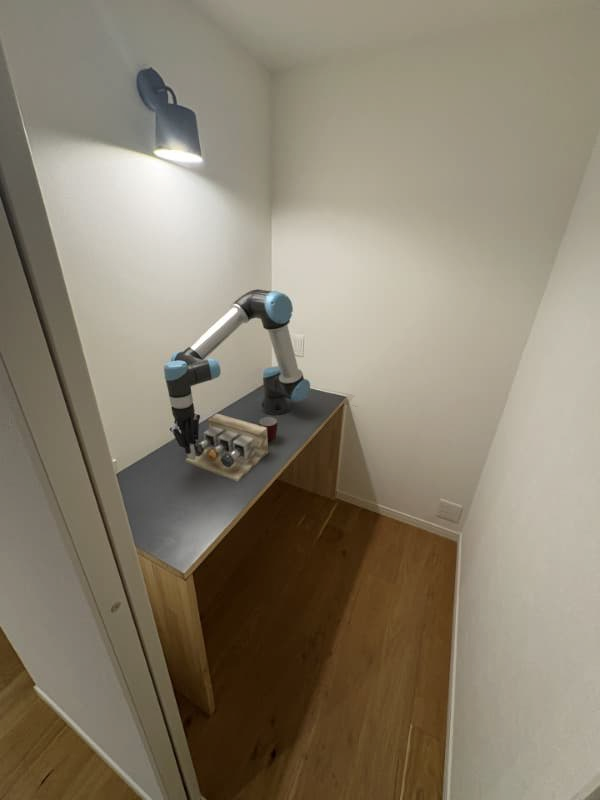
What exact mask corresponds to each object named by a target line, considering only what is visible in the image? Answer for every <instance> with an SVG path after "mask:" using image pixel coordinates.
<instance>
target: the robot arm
mask: <svg viewBox="0 0 600 800" xmlns="http://www.w3.org/2000/svg"><path fill="white" fill-rule="evenodd" d="M293 309H294V308H293V303H292V300H291V299H290V297H289V296H288V295H287V294H285V293H283V292H280V291H276V290H273V291H271V290H266V289H265V290H263V289H259V288H257V289H252V290H250V291H248V292H246V293H244V294H242V295H241V296H239V297H238V298H237V299H235V301H234V302H233V303H232V304H230V309H228V311H227V312H226V313H224V314H223V315H222V316H221V317H220V318H219V319H218V320H216V321H215V323H213V324H212V325H211V326H210V327H208V329H206V330H205V331H204V332H203V333H202V334H201V335H200V336H199V337H198V338H197V339H196V340H195V341H193V342H192V343H191V344H190V345H189V346H188V347H187V348H186V349H184V350H183V351H175V352H174V353H173V354H172V355H171V358H170V361H169V362H166V363H165V364H164V366H163V373H164V379H165V383H166V388H167V392H168V397H169V401H170V403H169V404H170V406H171V407H170V408H171V413H172V416H173V419H174V421H173V422H174V424H173V426H172V427H170V428H169V431H170V432H171V433H172V434H173V436H174V438H175V440H176V441H177V444H178V446H179V447H181V448H183V449H184V450H185V453H186V455H187V458H188V459H191V460H194V459H196V455H195V444H198V443H197V442H198V441H197V440H198V439H199V431H200V430H199V429H200V428H199V427H200V426H199V425H200V418H201V415H200V414H199V413H198V414H197V413H195V406H194V405H195V404H194V400H193V393H192V387H193V386H196V385H199V384H203V383H206V382H209V381H213V380H215V379H216V378H217V379H218V378H219V377H220V376H221V365H220V363H219V362H218V360H216V359H215V358H207V357H208V356H210V355H211V354H212V352H214V351H215V350H216V349H217V348H218V347H219V346H220V345H221V344H222V343H223V342H224V341H226V340H227V339H228V338H229V337H230V336H231V335H232V334H233V333H234V332H236V330H237V329H239V327H241V325H243V324H247V323H248V322H249V321H250V320H251V321H252V319H260V321H261V324H262V327H263V329H264V330H266V331H268V334H269V338H270V340H271V341H270V342H271V345H272V348H273V352H274V355H275V358H276V362H277V366H270V367H267V368H265V369H264V370H263V372H262V383H263V399H262V401H261V406H260V407H261V411H262V413H265V415H271V416H278V415H283V414H286V413H288V412H289V411H290V402H289V400H290V401H292V402H297V403H300V402H302V401H304V400H305V399H306V398H307V397H308V395H309V393H310V390H311V382H310V381H309V380H308V379H306V378H305V377H304V374H303V371H302V370H301V369H300V368H298V363H297V359H296V355H295V351H294V350H295V349H294V346H293V343H292V338H291V334H290V330H289V327H288V325H289V324H290V323H291V318H292V316H293V311H294V310H293ZM288 399H289V400H288Z"/></svg>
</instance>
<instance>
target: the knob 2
mask: <svg viewBox="0 0 600 800" xmlns="http://www.w3.org/2000/svg"><path fill="white" fill-rule="evenodd" d="M243 453H244V450H243V448H242V447H241V446H237V447H236V448H235V449H234V450H232V451H231V452H230V453H229V454H225V455H224V456H223V457H222V458H221V461H222V463H223V465H224V466H226V467H231V466H232V465H233V464H234V461H235V460H236V459H237V458H239V457H240V456H241V455H242V454H243Z"/></svg>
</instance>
